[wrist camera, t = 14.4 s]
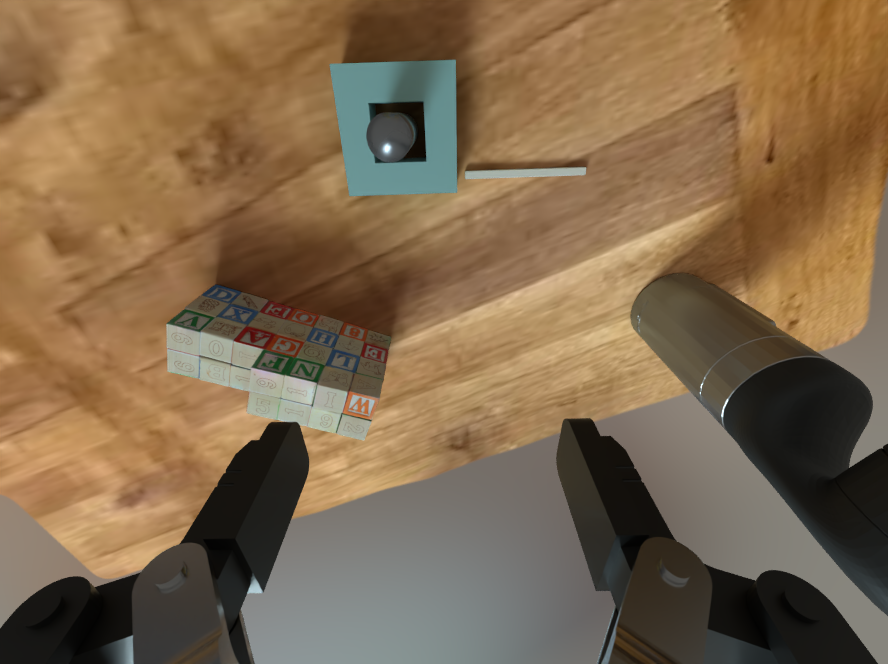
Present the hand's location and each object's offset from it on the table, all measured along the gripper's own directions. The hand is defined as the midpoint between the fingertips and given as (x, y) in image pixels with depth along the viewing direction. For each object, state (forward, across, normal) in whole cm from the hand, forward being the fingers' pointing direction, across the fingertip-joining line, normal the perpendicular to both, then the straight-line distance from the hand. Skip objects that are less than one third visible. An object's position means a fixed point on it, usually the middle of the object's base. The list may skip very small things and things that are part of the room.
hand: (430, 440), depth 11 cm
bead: (+32, +3, -8) cm, 33 cm away
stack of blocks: (+32, +17, +14) cm, 39 cm away
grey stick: (+32, -9, -4) cm, 34 cm away
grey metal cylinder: (+32, +3, -8) cm, 33 cm away
